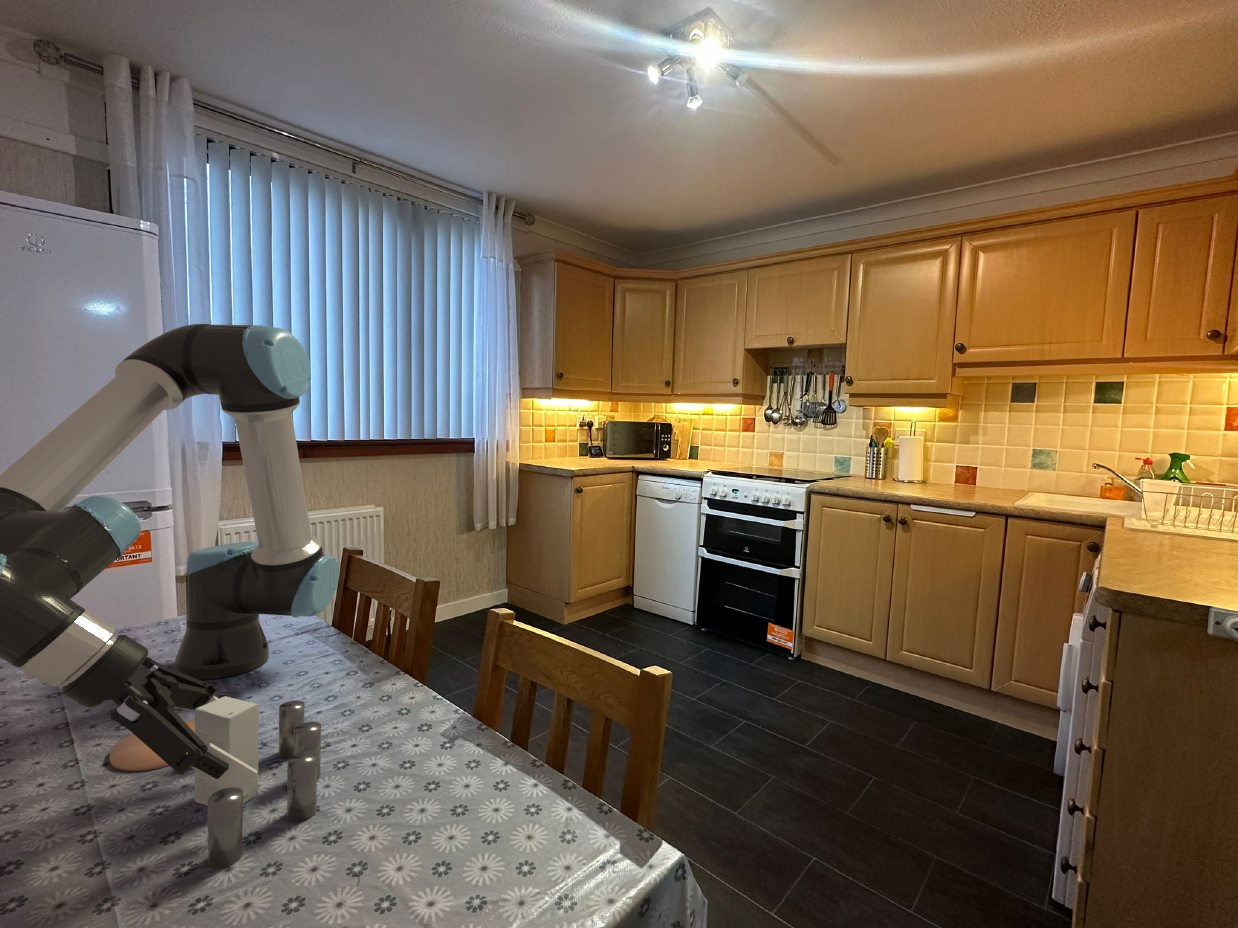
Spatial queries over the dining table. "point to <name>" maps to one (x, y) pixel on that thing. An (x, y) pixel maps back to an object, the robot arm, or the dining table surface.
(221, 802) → the set of grey cylinders
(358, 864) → the dining table surface
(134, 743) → the saucer
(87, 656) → the robot arm
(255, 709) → the skincare box
